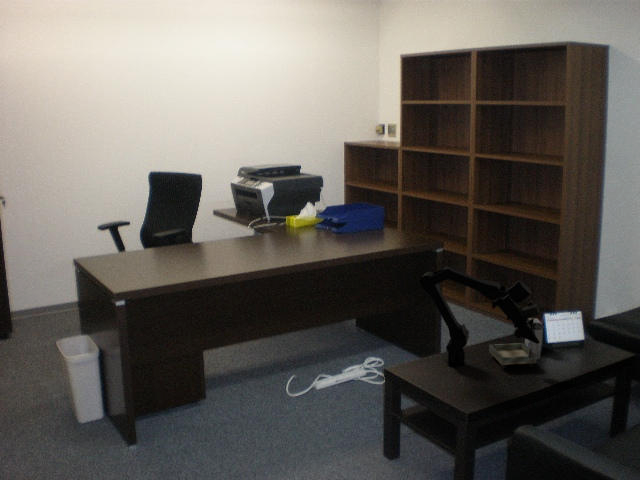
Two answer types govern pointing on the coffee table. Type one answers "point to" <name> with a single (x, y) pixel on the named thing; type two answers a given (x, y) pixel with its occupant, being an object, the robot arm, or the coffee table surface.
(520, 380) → the coffee table surface
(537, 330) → the metal canister
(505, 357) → the shallow grey tray
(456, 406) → the coffee table surface
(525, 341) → the ink box
